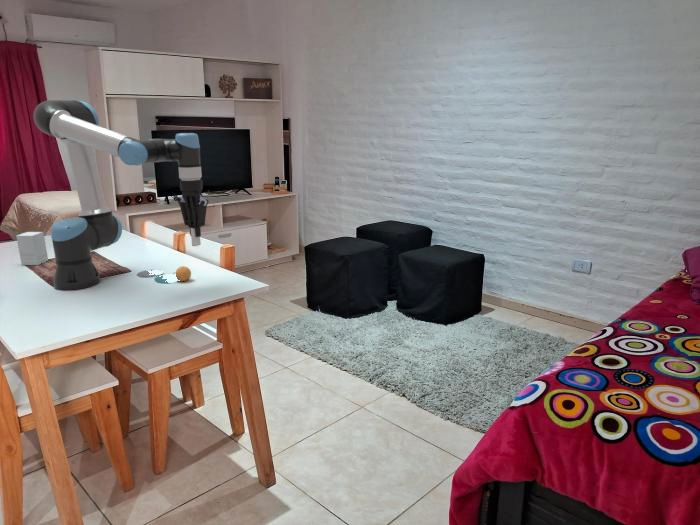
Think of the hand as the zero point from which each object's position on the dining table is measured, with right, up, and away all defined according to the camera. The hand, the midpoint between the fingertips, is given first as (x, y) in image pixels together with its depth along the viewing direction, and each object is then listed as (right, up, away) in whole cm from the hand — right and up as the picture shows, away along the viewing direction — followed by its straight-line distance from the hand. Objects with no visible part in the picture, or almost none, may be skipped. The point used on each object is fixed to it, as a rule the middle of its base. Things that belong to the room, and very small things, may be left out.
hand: (196, 245), depth 192 cm
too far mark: (-22, -10, +16) cm, 30 cm away
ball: (-7, -10, +7) cm, 14 cm away
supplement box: (-77, -7, +32) cm, 83 cm away
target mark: (-12, -12, +11) cm, 20 cm away
